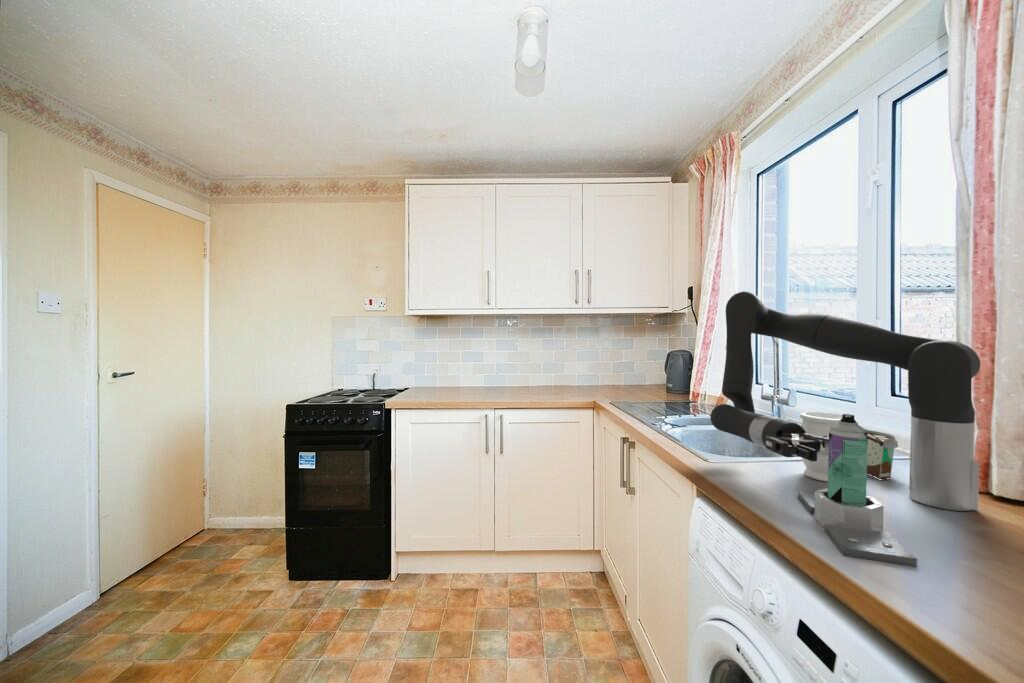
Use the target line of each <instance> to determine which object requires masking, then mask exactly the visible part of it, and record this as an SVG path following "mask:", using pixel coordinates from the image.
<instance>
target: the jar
mask: <svg viewBox="0 0 1024 683" xmlns="http://www.w3.org/2000/svg"><path fill="white" fill-rule="evenodd" d="M842 415H843V414H840V413H839V414H837V413H831V412H820V411H807V412H805V411H804V412H800V414H799V417H800V418H801V419H802V422H801V423H800V426H801V427H802V428H803V429H804V430H805V432H806V433H808V434H813V435H814V436H820V437H823V436H825V435H827V436H829V430H830V429H831V428H830V426H831V425H834V424H836V423H839V422H838V421H840V420H841V419H842ZM820 451H825V448H823V447H822V445H821V449H820ZM828 458H829V455H828V456H825V455H820V454H817V461H809V460H807V459H804V458H802V457H801V459H802V461H803V464H804V466H805V467H806V468H805V469H804V470H803V474H804V475H805V476H806V477H808V478H811V479H814V480H817V481H821V482H826V483H828Z"/></svg>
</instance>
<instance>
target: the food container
mask: <svg viewBox="0 0 1024 683" xmlns="http://www.w3.org/2000/svg"><path fill="white" fill-rule="evenodd" d="M866 430H867V432H866V433H867V435H868V443H867V474H870V475H872V476H875V477H877V478H879V479H887V478H890V479H891V477H892V476H891V475H892V468H893V460H894V453H895V449H896V448H898V447H899V444H898V440H897V438H896V436H894V435H892V434H889V433H886V432H882V431H875V430H870V429H866Z"/></svg>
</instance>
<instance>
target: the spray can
mask: <svg viewBox="0 0 1024 683" xmlns="http://www.w3.org/2000/svg"><path fill="white" fill-rule="evenodd" d="M841 415H842V419H841V420H840V421H838V422H839V423H836V424H834V425H831V426H830V428H831V429H830V430H829V458H828V482H827V488H828V499H831V500H834V501H837V502H841V503H844V504H849V505H857V506H866V496H867V484H868V483H867V481H868V480H867V479H868V477H867V476H868V475H867V443H868V435H867V433H866V432H867V430H868V429H866V428H864V427H862V426H861V425H859V422H858V421H856V420H855V415H854V414H849V413H844V414H843V413H842V414H841Z"/></svg>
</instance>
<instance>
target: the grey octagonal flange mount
mask: <svg viewBox="0 0 1024 683" xmlns="http://www.w3.org/2000/svg"><path fill="white" fill-rule="evenodd" d="M797 496H798V498H799V500H800V501H801V502H802V503H803V505H804V506H805V507H806V509H807V510H808V512H809V513H810V514H814V515H813V516H814V519H815V521H816V522H817V523H818V525H819V526H820V525H821V527H822V526H823V528H824V532H825V533H826V535H827V534H828V535H829V536H828V535H827V536H828V537H829V538H830V540H831V539H832V540H831V542H833V544H834V543H835V544H836V545H835V544H834V545H835V547H838V548H839V549H838V548H837V549H838V550H839V551H840V553H841V552H842V553H841V554H842V555H843V556H844V555H845V556H844V557H849V556H852V557H851V558H856V557H857V558H858V559H862V558H864V560H869V561H874V562H875V561H876V562H882V561H883V562H882V563H888V562H889V563H890V564H896V565H901V566H902V565H903V566H910V567H915V568H918V558H917V557H916V556H914V555H913V554H912V553H911V551H909V550H908V549H907V548H906V547H905V546H904V545H903V544H902V543H901V542H899V541H898V540H897V539H896V538H895V537H894V536H893V535H892V534H891V533H890V532H885V531H884V504H882V503H881V502H879V500H877V499H876V498H875V497H873V496H869V495H866V506H857V505H849V504H844V503H841V502H837V501H834V500H831V499H828V487H827V488H823V489H819V490H815V491H814V492H809V491H801V490H800V491H799V490H798V492H797Z"/></svg>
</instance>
